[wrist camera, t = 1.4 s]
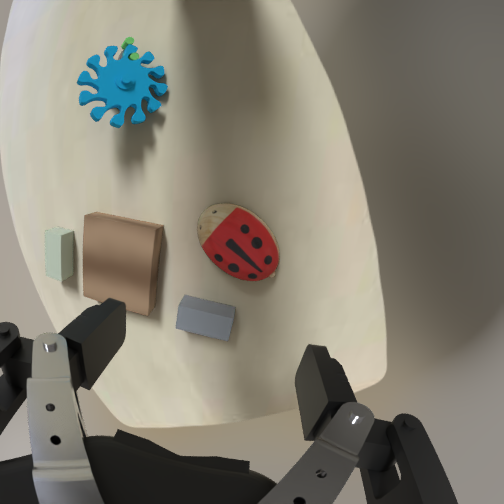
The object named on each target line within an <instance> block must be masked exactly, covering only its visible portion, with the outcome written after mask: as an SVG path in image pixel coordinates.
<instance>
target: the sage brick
mask: <svg viewBox="0 0 504 504" xmlns="http://www.w3.org/2000/svg"><path fill="white" fill-rule="evenodd" d="M73 240H74V231H73V230H69V229H65V228H61V227H55V228H52V229H49V230H46V231H45V267H46V276H48V277H51V278H53V279H56V280H58V281H61V282H62V281H64V280H65V279H67V278H68V277H70V276H72V275H73Z"/></svg>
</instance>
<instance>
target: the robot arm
mask: <svg viewBox="0 0 504 504" xmlns="http://www.w3.org/2000/svg"><path fill="white" fill-rule="evenodd" d="M125 335H126V304H125V302H122V301H119V300H116V299H113V298H108V299H107V300H105V301H104V302H103V303H102V304H101V305H100V306H99V305H95V306H92V307H89V308H87V309H86V310H85V311H84V312H82V313H81V315H79V316H78V317H77V318H76V319H74V320H73V321H72V322H71V323H70V324H68V325H67V326H66V327H65V328H64V329H63V330H62V331H61V332H59V333H58V334H56V333H44V334H41V335H39V336H38V337H36V339H35V340H32V339H27V338H23V337H20V334H19V330H18V328H17V326H16V325H15V324H13V323H10V322H2V323H0V368H2V371H3V375H2V376H1V377H0V435H1V433H2V432H3V430H4V429H5V427H6V426H7V424H8V423H9V421H10V420H11V419H12V417H13V416H14V414H15V413H16V412H17V410H18V409H19V407H20V406H21V405H22V403H23V402H24V401H25V399H26V398H27V410H28V425H29V435H30V443H31V450H32V454H30V455H26V456H22V457H19V458H14V459H10V460H5V461H1V462H0V504H333V502H334V501H335V499H336V498H337V496H338V495H339V493H340V492H341V490H342V488H343V487H344V485H345V484H346V482H347V480H348V478H349V477H350V475H351V473H352V472H353V470H354V468H355V467H358V468H360V472H361V477H362V481H363V486H364V490H365V495H366V500H367V504H458V503H457V500H456V497H455V495H454V492H453V490H452V487H451V485H450V483H449V480H448V478H447V476H446V473H445V471H444V469H443V466H442V464H441V462H440V460H439V458H438V456H437V454H436V452H435V449H434V447H433V445H432V443H431V441H430V439H429V437H428V435H427V433H426V431H425V429H424V427H423V425H422V423H421V422H420V420H418V419H417V418H416V417H414V416H413V415H409V414H399V415H397V416H396V417H395V418H394V420H393V421H392V422H388V421H384V420H379V419H375V418H374V415H373V413H372V411H371V410H370V409H369V408H368V407H366V406H365V405H363V404H360V403H357V400H356V398H355V396H354V393H353V391H352V388H351V386H350V383H349V382H348V379H347V376H346V375H345V372H344V369H343V367H342V365H341V364H340V363H339V362H338V361H337V360H336V359H334V358H330V355H329V353H328V350H327V348H326V347H325V346H319V345H312V344H309V345H308V346H307V347H306V350H305V352H304V355H303V357H302V360H301V362H300V365H299V367H298V370H297V372H296V377H295V387H296V393H297V398H298V404H299V410H300V415H301V422H302V428H303V434H304V440H306V441H314V443H313V444H312V445H311V446H310V448H309V449H308V450H307V451H306V452H305V454H304V455H303V456H302V457H301V458H300V460H299V461H298V462H297V463H296V464H295V465H294V466H293V468H292V469H291V470H290V471H289V472H288V473H287V474H286V475H285V476H284V477H283V478H282V480H281V481H280V482H279V483H278V484H277V483H275V482H274V481H272V480H271V479H269V478H267V477H266V476H264V475H262V474H260V473H257V472H255V471H252V470H249V463H250V462H249V461H244V460H236V459H228V458H222V457H217V456H214V457H213V456H212V457H211V456H210V457H197V456H180V455H177V454H175V453H173V452H171V451H169V450H167V449H165V448H163V447H161V446H159V445H157V444H155V443H153V442H152V441H150V440H147V439H144V438H141V437H138V436H136V435H133V434H130V433H127V432H124V431H122V430H119V429H118V430H117V432H116V434H115V436H114V437H112V436H89V437H88V434H87V431H86V428H85V424H84V420H83V416H82V412H81V408H80V404H79V398H78V394H77V390H78V388H79V387H80V386H81V387H83V388H85V389H88V390H90V389H91V387H92V386H93V385H94V383H95V382H96V380H97V379H98V378H99V376H100V375H101V373H102V372H103V371H104V369H105V368H106V366H107V365H108V364H109V362H110V361H111V360H112V358H113V357H114V355H115V354H116V353H117V351H118V350H119V349H120V347H121V346H122V344H123V342H124V340H125ZM396 462H397V464H398V467H399V470H400V473H401V480H399V476H398V473H397V470H396V467H395V463H396Z"/></svg>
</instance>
